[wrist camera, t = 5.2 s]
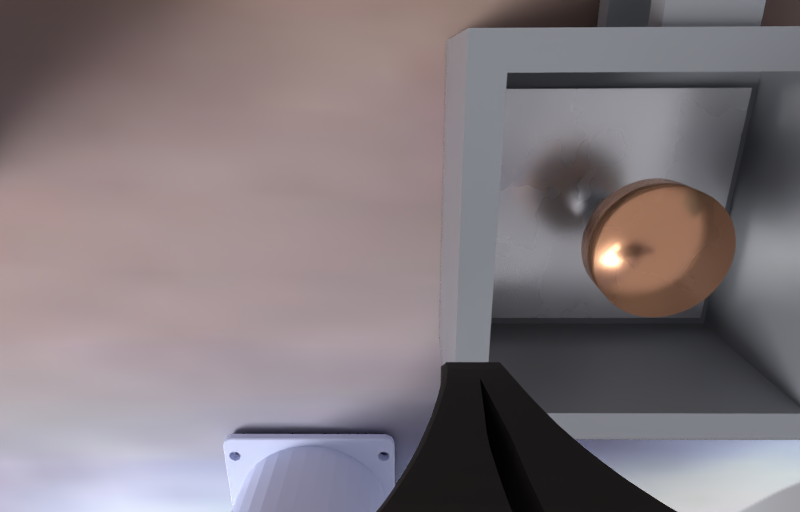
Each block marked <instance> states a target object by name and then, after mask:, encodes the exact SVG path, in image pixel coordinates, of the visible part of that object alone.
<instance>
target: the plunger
mask: <svg viewBox="0 0 800 512" xmlns="http://www.w3.org/2000/svg"><path fill="white" fill-rule="evenodd" d="M751 91H752V88H746V87H681V88H506V100H505V115H504V131H503V146H502V162H501V177H500V192H499V208H498V223H497V239H496V254H495V269H494V285H493V300H492V316H491V318H701V313H702V309H703V305H704V300H705V298H707V297H708V296H709V295H710V294H711V293H712V292H713V291H714V290H715V289H716V288H717V287H718V286H719V284H720V283H721V282H722V281H723V279H724V277H725V276H726V274H727V273H728V270H729V268H730V266H731V264H732V261H733V257H734V253H735V247H736V236H735V229H734V225H733V222H732V220H731V218H730V216H729V214H728V212H727V211H726V209H725V207H726V202H727V198H728V193H729V189H730V185H731V180H732V176H733V171H734V167H735V162H736V158H737V153H738V149H739V145H740V140H741V136H742V131H743V127H744V122H745V118H746V113H747V109H748V105H749V100H750V96H751Z"/></svg>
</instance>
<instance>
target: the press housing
mask: <svg viewBox="0 0 800 512" xmlns="http://www.w3.org/2000/svg"><path fill="white" fill-rule="evenodd" d="M765 3H766V0H600V6H599V14H598V23H597V27H561V28H467V29H465V30H464V31H462V32H460V33H459V34H457V35H455V36H453V37H452V38H450V39H448V40H447V46H446V86H445V125H444V165H443V204H442V244H441V284H440V323H439V340H440V348H441V356H442V364H443V365H444V364H445V363H446V362H500V363H501V364H502V365H503V366H504V367H505V368H506V369H507V371H508V372H509V373H510V374H511V375H512V376H513V377H514V379H515V380H516V381H517V382H518V383H519V384H520V385H521V386H522V388H523V389H524V390H525V391H526V392H527V393H528V394H529V395H530V396H531V397H532V399H533V400H534V401H535V402H536V403H537V404H538V405H539V406H540V407H541V408H542V409H543V410H544V411H545V412H546V413H547V414H548V415H549V416H550V417H551V418H552V419H553V420H554V421H555V422H556V423H557V424H558V425H559V426H560V427H561V428H562V429H564V430H565V431H566V432H567V433H568V434H569V435H570V436H571V437H572V438H574V439H638V440H800V26H761V21H762V17H763V12H764V8H765ZM681 87H746V88H752V91H751V96H750V100H749V105H748V109H747V113H746V118H745V122H744V127H743V131H742V136H741V140H740V145H739V149H738V153H737V158H736V162H735V167H734V171H733V176H732V180H731V185H730V189H729V193H728V198H727V202H726V207H725V209H726V211H727V212H728V214H729V216H730V218H731V220H732V222H733V225H734V229H735V236H736V247H735V253H734V257H733V261H732V264H731V266H730V268H729V270H728V273H727V274H726V276H725V277H724V279H723V281H722V282H721V283H720V284H719V286H718V287H717V288H716V289H715V290H714V291H713V292H712V293H711V294H710V295H709V296H708V297H707V298H705V300H704V305H703V309H702V313H701V318H491V316H492V300H493V285H494V269H495V254H496V239H497V223H498V208H499V192H500V177H501V162H502V146H503V131H504V115H505V100H506V88H681Z"/></svg>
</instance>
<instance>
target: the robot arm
mask: <svg viewBox="0 0 800 512" xmlns="http://www.w3.org/2000/svg"><path fill="white" fill-rule="evenodd" d="M223 448H224V455H225V461H226V467H227V474H228V480H229V487H230V493H231V499H232V506H233V509H232V512H677V511H675V510H673V509H672V508H670V507H668V506H666V505H665V504H663V503H662V502H660V501H658V500H657V499H655V498H654V497H652V496H651V495H649V494H648V493H646V492H644V491H643V490H641V489H640V488H638V487H637V486H635V485H634V484H632V483H631V482H629V481H628V480H626V479H625V478H623V477H622V476H621V475H619V474H618V473H616V472H615V471H614V470H612V469H611V468H610V467H608V466H607V465H606V464H604V463H603V462H602V461H601V460H599V459H598V458H597V457H595V456H594V455H593V454H591V453H590V452H589V451H588V450H586V449H585V448H584V447H583V446H582V445H580V444H579V443H578V442H577V441H576V440H575V439H574V438H572V437H571V436H570V435H569V434H568V433H567V432H566V431H565V430H564V429H562V428H561V427H560V426H559V425H558V424H557V423H556V422H555V421H554V420H553V419H552V418H551V417H550V416H549V415H548V414H547V413H546V412H545V411H544V410H543V409H542V408H541V407H540V406H539V405H538V404H537V403H536V402H535V401H534V400H533V399H532V397H531V396H530V395H529V394H528V393H527V392H526V391H525V390H524V389H523V388H522V386H521V385H520V384H519V383H518V382H517V381H516V380H515V379H514V377H513V376H512V375H511V374H510V373H509V372H508V371H507V369H506V368H505V367H504V366H503V365H502V364H501V363H500V362H446V363H445V364H444V365H442V366H441V386H440V390H439V395H438V398H437V401H436V404H435V407H434V410H433V413H432V416H431V419H430V421H429V424H428V426H427V428H426V430H425V433H424V435H423V437H422V440H421V442H420V444H419V446H418V448H417V450H416V452H415V454H414V456H413V457H412V459H411V461H410V463H409V464H408V466H407V468H406V470H405V471H404V473H403V474H402V476H401V478H400V479H399V481H398V482H397V484H396V485H395V447H394V439H393V438H392V437H391V436H389V435H386V434H231V435H229V436H228V437H227V438H226V440H225V442H224V445H223ZM233 452H238V453H239V455H237V454H234V453H233ZM381 452H386V453H388V454H387V455H381V454H380V453H381Z"/></svg>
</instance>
